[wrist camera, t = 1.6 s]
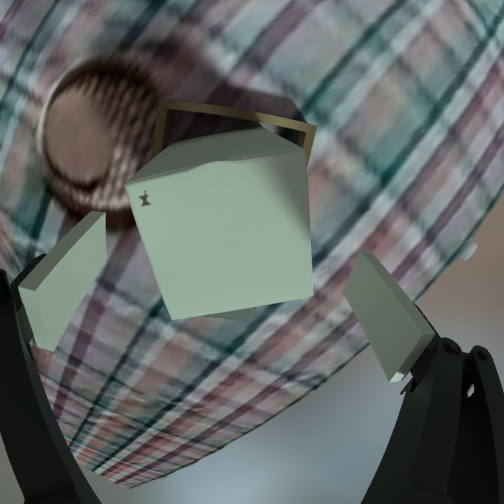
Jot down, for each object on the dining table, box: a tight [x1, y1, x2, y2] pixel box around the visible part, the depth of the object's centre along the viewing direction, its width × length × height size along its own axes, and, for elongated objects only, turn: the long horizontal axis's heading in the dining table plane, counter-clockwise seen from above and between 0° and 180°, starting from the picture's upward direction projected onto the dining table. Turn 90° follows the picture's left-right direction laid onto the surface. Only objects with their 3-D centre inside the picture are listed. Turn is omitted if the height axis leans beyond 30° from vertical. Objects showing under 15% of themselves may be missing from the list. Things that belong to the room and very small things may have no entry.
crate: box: [151, 99, 317, 165], centre depth 26 cm, size 14×14×3 cm
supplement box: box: [124, 127, 313, 320], centre depth 21 cm, size 9×9×15 cm
